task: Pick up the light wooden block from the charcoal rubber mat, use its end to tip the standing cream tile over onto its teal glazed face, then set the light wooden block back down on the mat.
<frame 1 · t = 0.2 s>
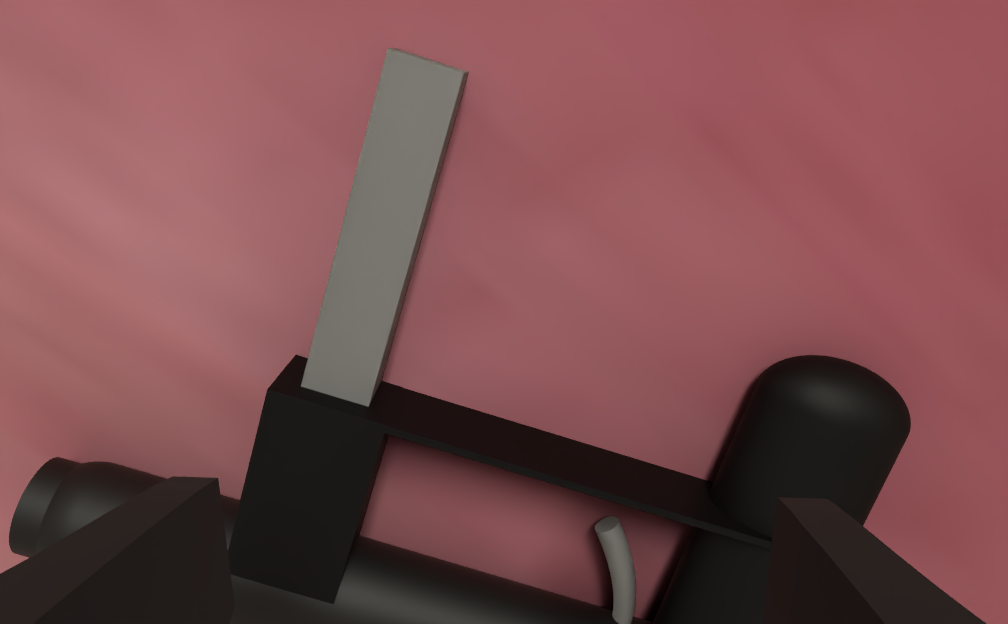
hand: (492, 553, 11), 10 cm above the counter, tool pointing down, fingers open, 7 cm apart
door handle: (477, 401, 22), on the counter
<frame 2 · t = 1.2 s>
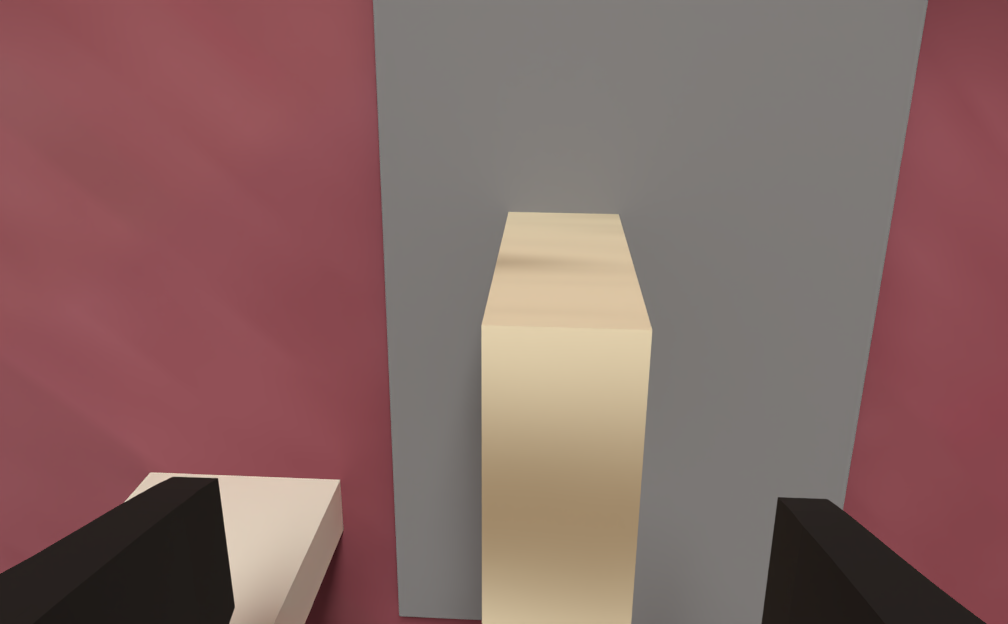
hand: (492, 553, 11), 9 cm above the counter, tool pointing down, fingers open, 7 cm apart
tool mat: (623, 334, 20), on the counter
tile: (193, 587, 19), point 3 cm above the counter
light wooden block: (559, 340, 20), resting on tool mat
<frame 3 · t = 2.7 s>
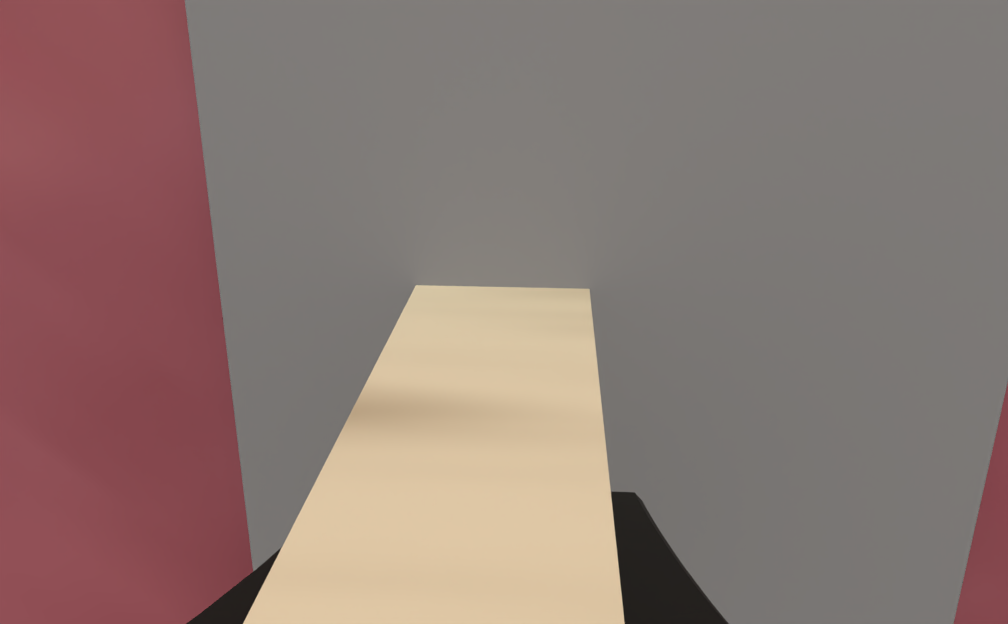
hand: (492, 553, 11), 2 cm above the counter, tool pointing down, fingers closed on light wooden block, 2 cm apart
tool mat: (601, 463, 13), on the counter
light wooden block: (502, 476, 13), resting on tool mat, touching gripper
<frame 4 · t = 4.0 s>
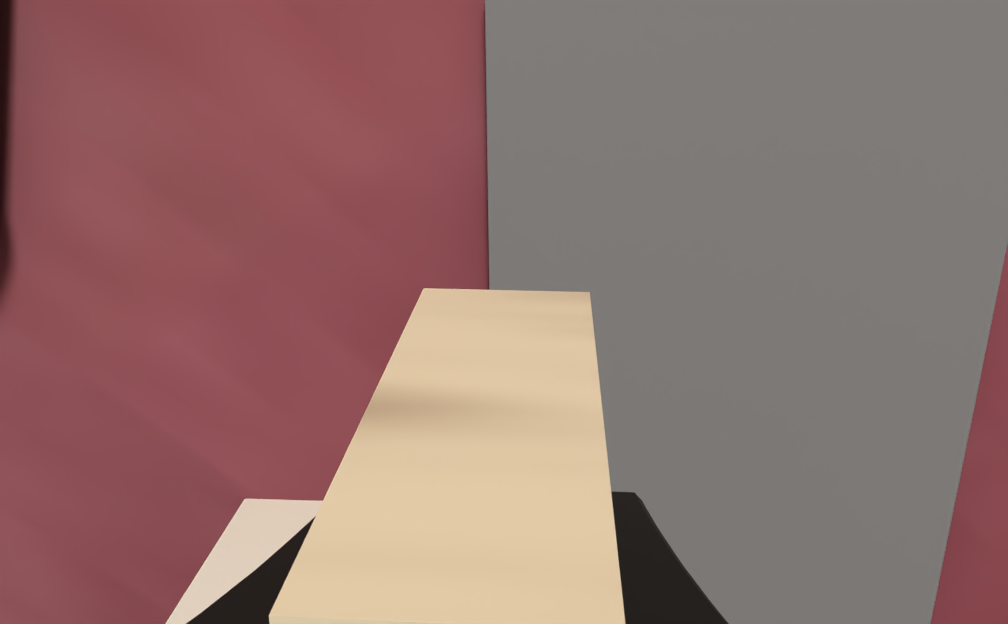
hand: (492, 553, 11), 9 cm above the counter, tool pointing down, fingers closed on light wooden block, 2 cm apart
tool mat: (727, 356, 20), on the counter
tile: (303, 617, 19), point 3 cm above the counter
light wooden block: (505, 472, 13), point 7 cm above the counter, touching gripper
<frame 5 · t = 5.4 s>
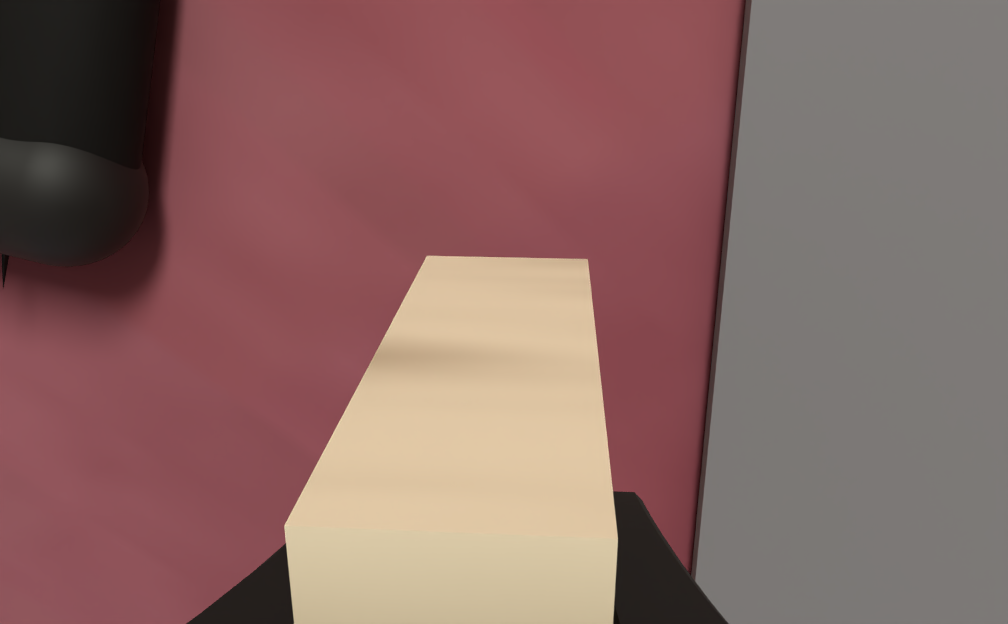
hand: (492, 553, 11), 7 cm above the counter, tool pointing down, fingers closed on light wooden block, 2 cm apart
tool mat: (977, 389, 18), on the counter
light wooden block: (506, 436, 14), point 4 cm above the counter, touching gripper
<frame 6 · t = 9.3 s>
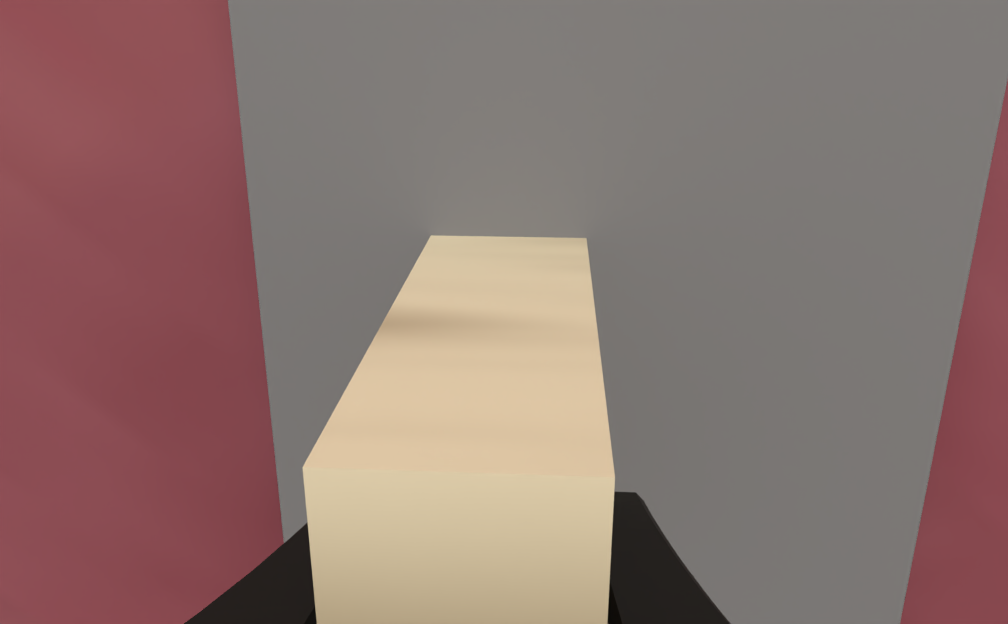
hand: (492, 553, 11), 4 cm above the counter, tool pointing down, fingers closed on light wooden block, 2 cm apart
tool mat: (595, 418, 15), on the counter
light wooden block: (507, 411, 14), resting on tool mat, touching gripper
when the fingers open (4 cm above the counter, at t = 9.5 s): light wooden block stays where it is, resting on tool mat.
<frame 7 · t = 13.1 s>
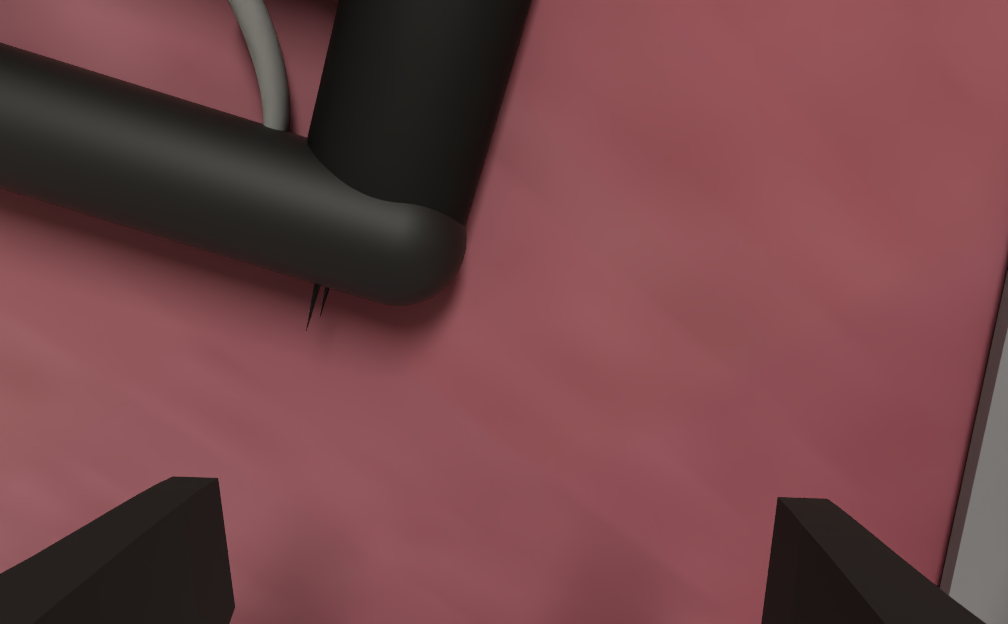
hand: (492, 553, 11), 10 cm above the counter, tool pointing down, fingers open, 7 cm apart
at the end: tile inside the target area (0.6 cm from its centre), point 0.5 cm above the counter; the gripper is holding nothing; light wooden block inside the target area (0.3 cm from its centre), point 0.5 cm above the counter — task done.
